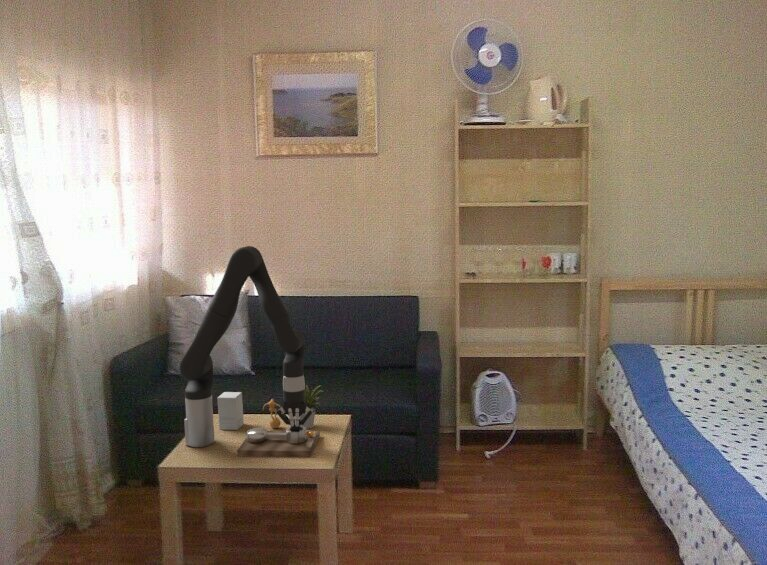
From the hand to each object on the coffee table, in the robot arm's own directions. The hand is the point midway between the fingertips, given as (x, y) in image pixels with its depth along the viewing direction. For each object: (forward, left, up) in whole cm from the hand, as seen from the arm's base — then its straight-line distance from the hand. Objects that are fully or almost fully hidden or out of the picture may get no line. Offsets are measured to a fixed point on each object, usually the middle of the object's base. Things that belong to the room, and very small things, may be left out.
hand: (295, 435), depth 247 cm
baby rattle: (-6, 0, -2) cm, 6 cm away
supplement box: (-29, +20, -4) cm, 35 cm away
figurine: (-12, +18, -4) cm, 22 cm away
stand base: (-6, +1, -4) cm, 7 cm away
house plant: (+1, +21, -4) cm, 21 cm away
